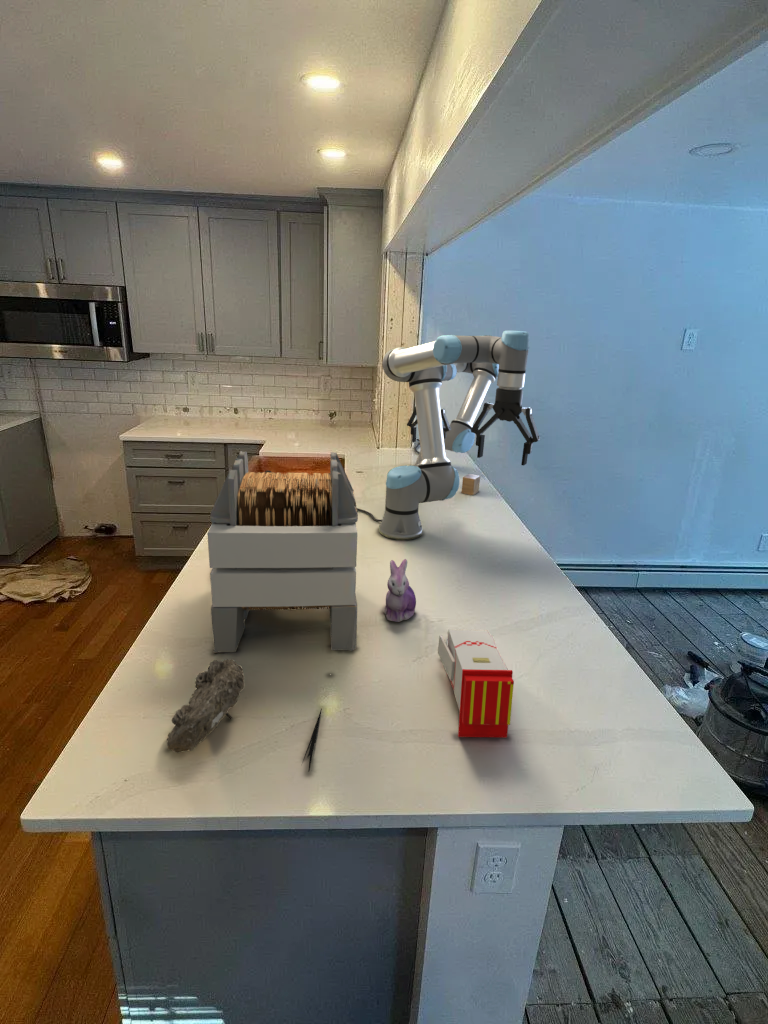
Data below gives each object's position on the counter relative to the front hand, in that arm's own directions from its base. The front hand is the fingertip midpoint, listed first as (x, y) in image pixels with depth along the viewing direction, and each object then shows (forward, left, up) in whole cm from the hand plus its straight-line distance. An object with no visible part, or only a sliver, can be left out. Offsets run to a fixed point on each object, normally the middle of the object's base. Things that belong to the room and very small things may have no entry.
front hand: (501, 460), depth 168 cm
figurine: (+6, -44, -34) cm, 56 cm away
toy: (+39, -54, -34) cm, 74 cm away
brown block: (-54, +52, -34) cm, 82 cm away
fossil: (+14, -99, -34) cm, 105 cm away
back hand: (-76, +46, -16) cm, 91 cm away
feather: (+27, -83, -34) cm, 94 cm away
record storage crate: (-10, -67, -34) cm, 76 cm away
